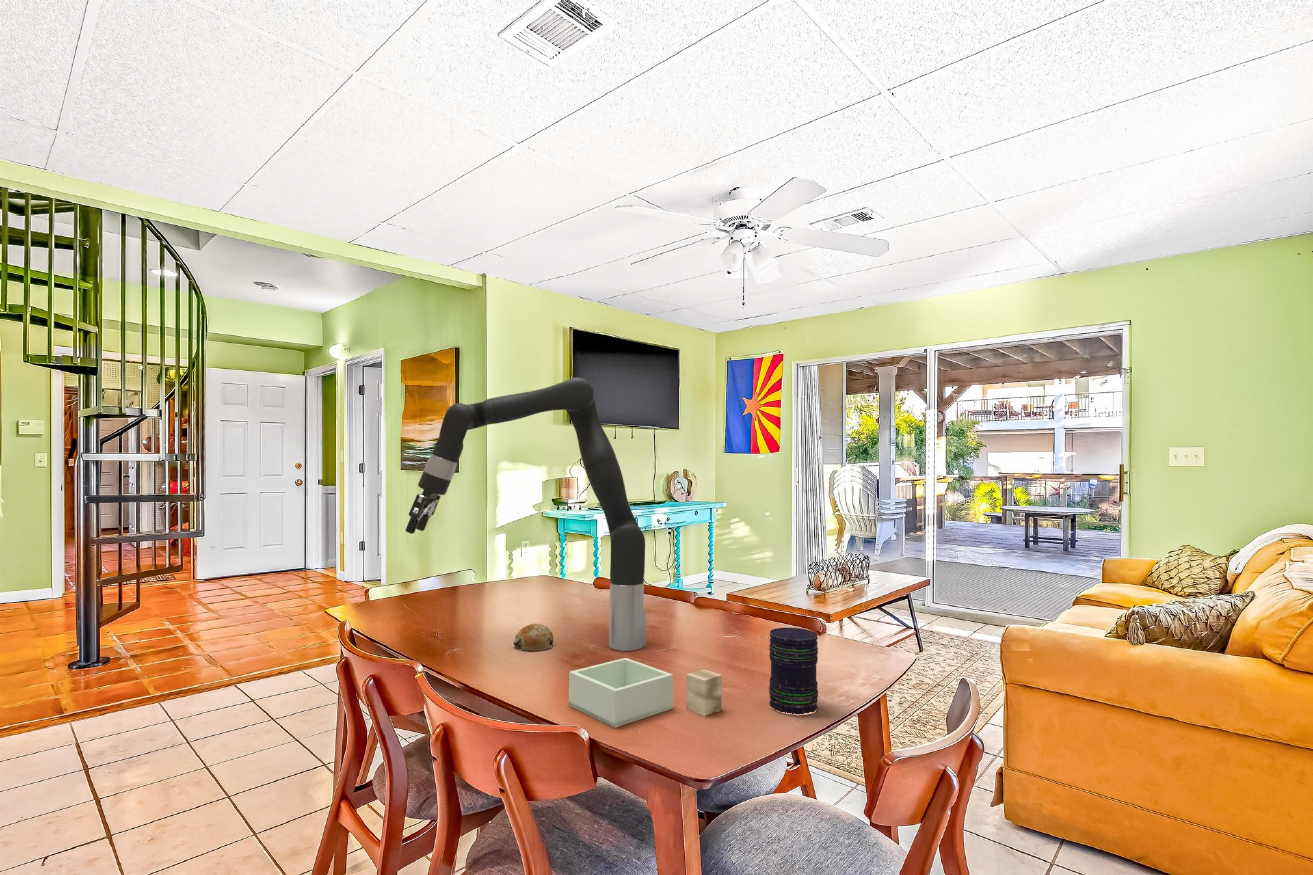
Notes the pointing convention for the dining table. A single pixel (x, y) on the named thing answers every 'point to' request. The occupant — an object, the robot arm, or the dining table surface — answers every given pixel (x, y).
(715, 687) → the block
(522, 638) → the bread roll
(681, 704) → the dining table surface
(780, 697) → the storage jar
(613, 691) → the bin
